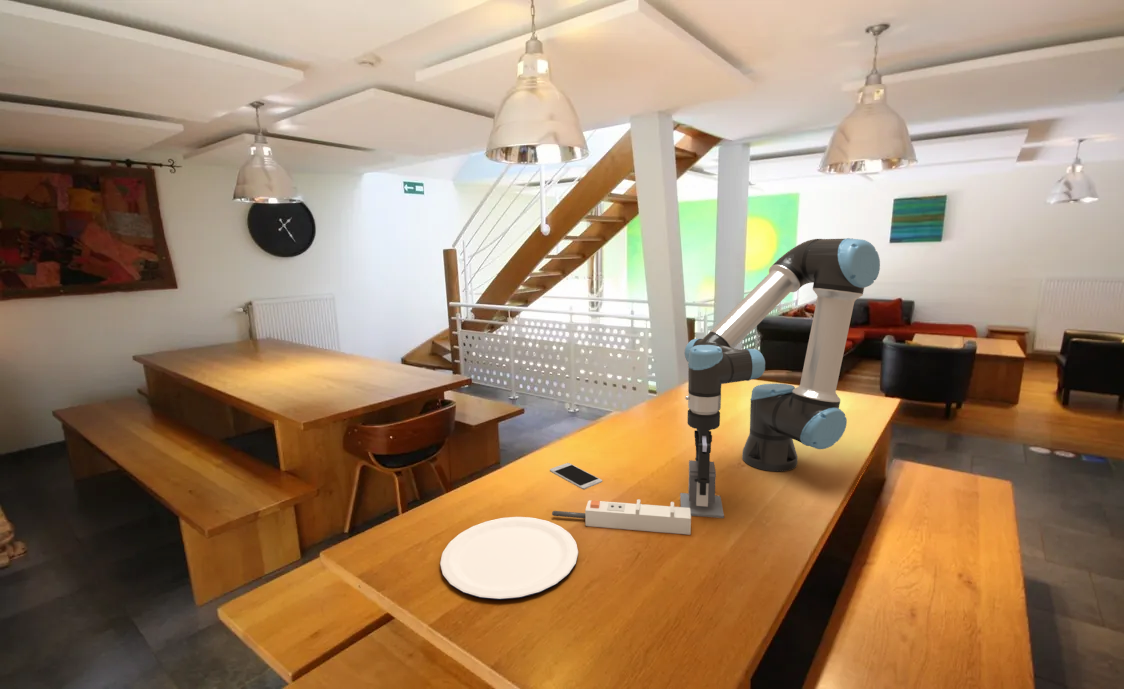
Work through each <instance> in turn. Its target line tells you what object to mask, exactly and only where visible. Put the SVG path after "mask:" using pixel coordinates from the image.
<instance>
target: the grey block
mask: <svg viewBox="0 0 1124 689" xmlns="http://www.w3.org/2000/svg"><path fill="white" fill-rule="evenodd" d="M716 475H717V471H716V467H715V461H710V466H709V480H710V482H709V486H708V503H715V495H716V477H717V476H716ZM697 478H698V461H696V460H692V459H691V460H688V494H689V501H694V502H696V492H697V482H695V481H694V479H697Z"/></svg>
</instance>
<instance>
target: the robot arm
mask: <svg viewBox="0 0 1124 689" xmlns="http://www.w3.org/2000/svg"><path fill="white" fill-rule="evenodd" d="M880 267H881V261H880V255H879V253H878V251H877V249H876V247H875V246H874V245H873V244H872V243H871V242H870V241H868V240H865V239H861V238H860V239H859V238H849V237H848V238H813V239H809V240H806V241H804V242H801V243H799V244H798V245H796V246H794V247H793V248H791V249H789V251H787V252H786V253H785V254H783V255H781V257H779V258H778V259H777V260H776V261H775V262H774V263H773V264H772V265H771V266H770V267H769V269H768V274H766V276H765V277H764V278H763V279H761V281H760V282H759V283H758V284H757V285H756V286H755V287H754V288H753V289H752V290H751V291H750V292H748V294H746V296H745V297H744V298H743V299H742V300H741V301H740V302H739V303H737V305H736V306H735V307H734V308H732V310H730V312H729V313H728V314H726V316H724V318H722V320H720V322H718V323H717V324H716V325H715V326H714V328H712V329H711V331H709V332H708V334H706V335H705V336H704V337H703V338H693V339H691V340H689V341H688V343H687V344H686V346H685V349H684V357H685V359H686V362H687V365H688V366H687V368H688V374H687V375H688V385H687V387H688V389H687V390H688V391H687V392H688V393H687V394H688V395H686V396H685V398H684V399H685V400H686V401H687V400H688V401H687V402H688V403H687V407H688V410H687V421H686V422H687V425H688V426H689V427H691V428H692V429H694V432H693V433H694V446H695V459H694V461H698V478H697V479H694V481H695V482H697V492H696V506H706V507H708V486H709V482H710V480H709V466H710V462H711V460H710V459H711V458H710V457H711V456H710V455H711V452H712V442H713V435H712V431H713V430H715V429H718V428H719V426H721V425H720V424H721V423H720V422H721V412H720V410H721V408H722V406H721V405H722V403H721V402H722V385H725V384H730V383H739V382H746V381H747V382H750V381H751V380H752V381H753V380H755V379H759V378H760V377H762V375H764V373H765V371H766V360H765V357H764V356H763V353H761V351H759V350H758V349H755V348H744V349H738V348H736V347H737V346H738V345H739V344H740V343H741V342H742V341H743V340H744V339H745V338H746V337H747V336H748V335H749V334H750V333H751V332H752V331H753V330H754V329H755V328H756V327H757V326H758V325H759V324H760V323H761V322H762V321H763V320H764V319H765V318H766V317H767V316H768V315H769V314H770V313H771V312H772V311H773V310H775V308H776V307H777V306H778V305H779V304H780V303H781V302H782V301H783V300H784V299H785V298H787V296H788V295H789V294H790V293H795V292H798V291H799V289H801V288H802V287H803V286H804V285H809V284H811V283H813V285H812V291H813V292H814V293H815V295H816V304H815V308H814V312H813V318H812V321H811V322H812V323H811V327H810V333H809V339H808V342H807V348H806V352H805V358H804V362H803V366H802V367H803V369H802V373H801V379H800V384H799V385H798V386H797V387H796V386H794V385H792V384H789V383H788V384H787V383H763V384H758V385H756V386H754V387H753V388H752V390H751V396H750V397H751V398H750V408H749V410H750V412H749V417H750V418H749V434H748V437H747V439H746V442H745V444H744V447H743V448H742V456H741V457H742V458H741V459H742V461H744V463H745V464H747V465H748V466H750V467H752V468H756V469H758V470H762V471H768V472H787V471H792V470H795V468H796V467H797V466H798V461H799V460H798V454H797V451H796V446H795V443H794V441H793V440H795V441H797V442H799V443H801V444H802V445H803V446H807V447H810V448H814V449H817V450H824V449H827V448H830V447H832V446H834V445H835V444H836V443H837V442H838V441H839V440H841V438H842V437H843V435H844V433H845V431H846V428H847V423H848V422H847V417H846V414H845V412H844V411H843V410H842V409H841V408H840V404H841V398H840V397H839V395H838V393H837V392H836V391H837V386H838V382H839V378H840V377H839V376H840V372H841V367H842V362H843V359H844V358H843V357H844V353H845V348H846V344H847V339H848V335H849V328H850V324H851V320H852V319H851V318H852V315H853V309H854V305H855V302H856V300H857V299H860V298H861V297H862V296H863V295H864V291H865V288H867V287H870V286H871V285H873V284H874V283H875V281H876V280H878V279H877V278H878V276H879V274H880V269H881V268H880ZM695 429H696V430H695ZM711 430H712V431H711Z"/></svg>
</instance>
